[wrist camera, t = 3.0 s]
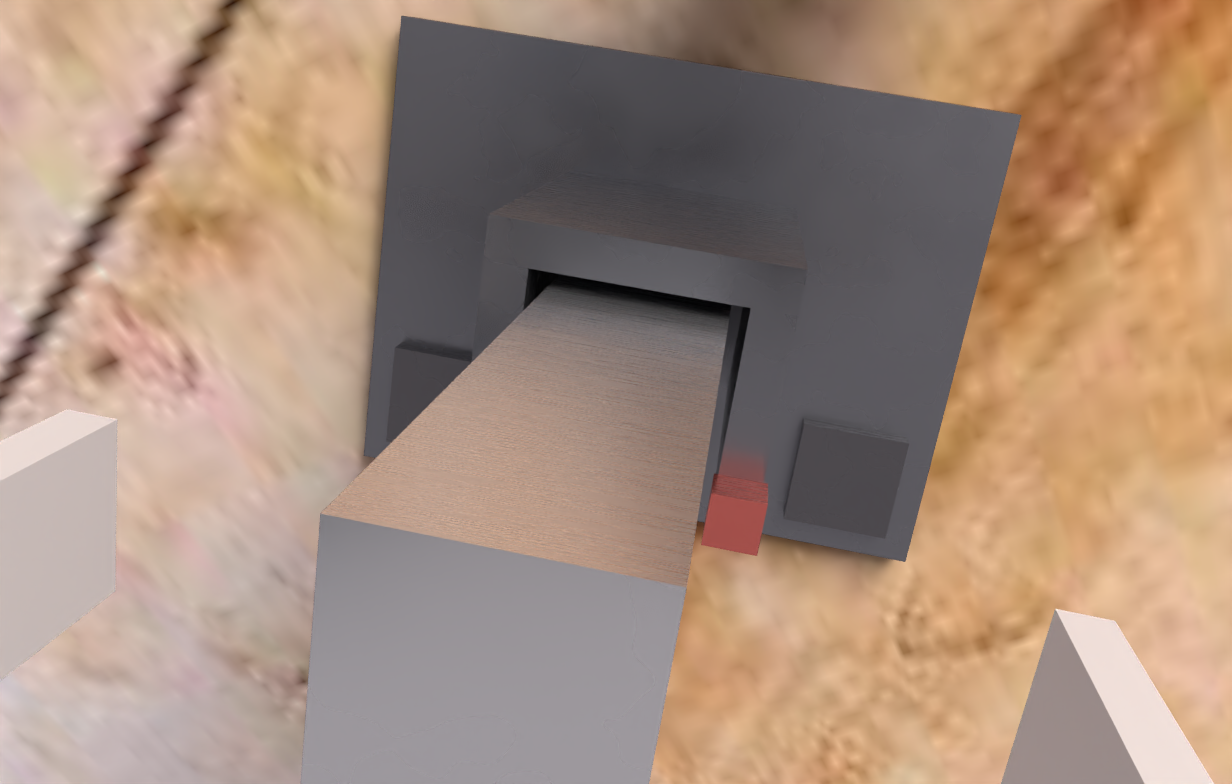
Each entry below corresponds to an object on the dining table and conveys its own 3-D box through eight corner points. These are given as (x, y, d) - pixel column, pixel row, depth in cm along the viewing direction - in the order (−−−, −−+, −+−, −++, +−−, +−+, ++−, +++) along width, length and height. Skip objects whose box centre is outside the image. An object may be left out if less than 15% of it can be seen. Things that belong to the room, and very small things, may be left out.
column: (585, 379, 34) (293, 878, 13) (608, 225, 33) (320, 513, 12) (711, 402, 34) (616, 953, 13) (740, 248, 32) (686, 587, 11)
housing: (374, 445, 37) (194, 618, 25) (412, 17, 33) (216, -10, 21) (901, 548, 35) (965, 783, 24) (1013, 113, 31) (1157, 142, 20)
